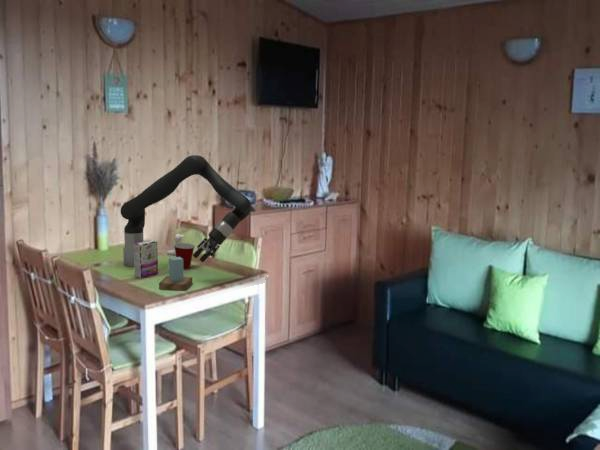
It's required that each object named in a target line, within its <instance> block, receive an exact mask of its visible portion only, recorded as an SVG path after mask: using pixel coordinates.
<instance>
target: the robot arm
mask: <svg viewBox="0 0 600 450" xmlns="http://www.w3.org/2000/svg"><path fill="white" fill-rule="evenodd" d="M194 175H196V176H197V175H198V176H201V177H202V178H204V179H205V180H206V181H207V182H208V183H209V184H210V185H211V186H212V189H214V191H215V192H216V193H217V195H219V197H221V198H222V199H223V200H224V201H226V202H227V203H230V204H231V205H233V206H234V207H235V208H234V209H233V210H232V211H230V212H228V213H226V214H225V216H224V217H223V218H222V219H221V220H220V221H219V222H218V223H217V224H216V225H215V226H214V227H213V228H212V230H210V232H209V233H208V237H209V238H207V237H205V238H203V240H202V241H200V243H198V245H197V246H196V247H197V248H196V249H197V250H196V251H195V252H193V254H192V257H194V258H195V259H197V258H199V256H200V255H201V254H202V253H203V252H205V253H203V254H202V256H201V257H200V258H199V261H200V262H201V263H204V262H205V261H206V260H207V259H208V258H209V257H210V256H211V257H213V256H214V255H215V253H216V252H217V251H218V250H219V249H220V248H221V247H220V246H222V244H223V243H224V242H225V241H226V239H228V237H229V236H230V235H231V234H232V232H233V231H234V230H235V228H236V227H237V226H238V225H239V223H241V222H242V221H243V220H245V218H247V217H248V216H249V214H251V212H252V203H251V201H250V199H249V197H247V196H245V194H243V193H241V192H239V191H238V190H237V189H236V188H234V186H232V185H231V184H230V183H229V182H227V181H226V180H225V179H224V178H223V177H222V176H221V175H220V174H219V173H218V172H217V171H216V170H215V169H214V168H213V167H212V165H211V164H210V163H209V162H208V161H207V159H206V158H205V157H203V156H202V155H196V154H195V155H192V154H191V155H188V156H187V157H185V158H184V159H183V160H182V161H181V162H180V163H178V165H177V166H175V167H174V168H173V169H172V170H170V171H168V172H167V173H165V174H164V175H163V176H161V177H160V178H158V179H157V180H155V181H154V182H153V183H151V184H150V185H148V187H146V188H145V189H144V190H143V191H141V193H140V194H138V195H136V196H135V197H133V198H131V199H129V200H128V201H126V202H124V203H123V204H122V205H121V207H120V215H121V217H122V218H123V219H125V220H127V223H126V225H125V226H124V228H123V230H124V231H123V232H124V234H123V235H124V247H123V248H122V250H123V251H122V253H123V255H122V256H123V267H126V268H127V267H128V268H134V244H135V243H139V242H144V228H145V225H146V209H147V208H149V207H150V206H152V205H155V204H158V202H161V201H162V200H164V199H166V198H167V197H168V196H170V195H172V194H173V193H174V192H175V191H176V190H177V188H178V187H179V185H180V184H181V183H182V182H183V181H185V180H186V179H188V178H190V177H191V176H194Z"/></svg>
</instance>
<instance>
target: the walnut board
mask: <svg viewBox="0 0 600 450" xmlns="http://www.w3.org/2000/svg"><path fill="white" fill-rule="evenodd" d="M192 285H193V277H192V276H183V281H177V282H172V281H171V280H169V275H166V276H165V277H164V278H163V279H162V280H160V281H159V282H158V290H159V289H163V290H162V291H178V290H180V291H181V292H186V291H187V290H188V289H190V287H191V286H192Z"/></svg>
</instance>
